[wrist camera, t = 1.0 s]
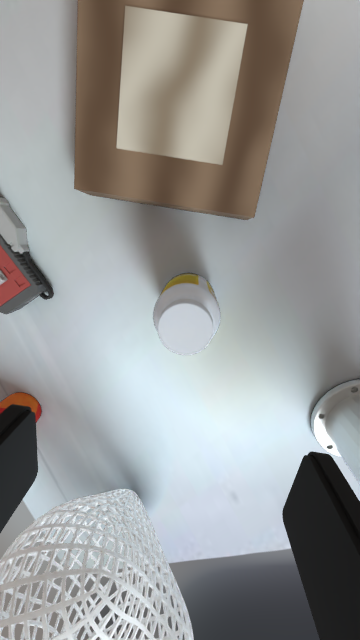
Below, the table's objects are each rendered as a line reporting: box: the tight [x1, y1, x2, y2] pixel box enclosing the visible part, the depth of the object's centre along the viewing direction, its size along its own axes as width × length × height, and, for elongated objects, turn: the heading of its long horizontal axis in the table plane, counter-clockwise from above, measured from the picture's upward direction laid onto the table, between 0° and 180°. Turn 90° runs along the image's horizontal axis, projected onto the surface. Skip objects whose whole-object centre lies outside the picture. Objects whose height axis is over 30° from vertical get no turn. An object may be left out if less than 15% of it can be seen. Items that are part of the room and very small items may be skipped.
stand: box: [74, 0, 304, 220], centre depth 24 cm, size 18×18×4 cm
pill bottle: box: [153, 273, 220, 355], centre depth 27 cm, size 6×6×12 cm
